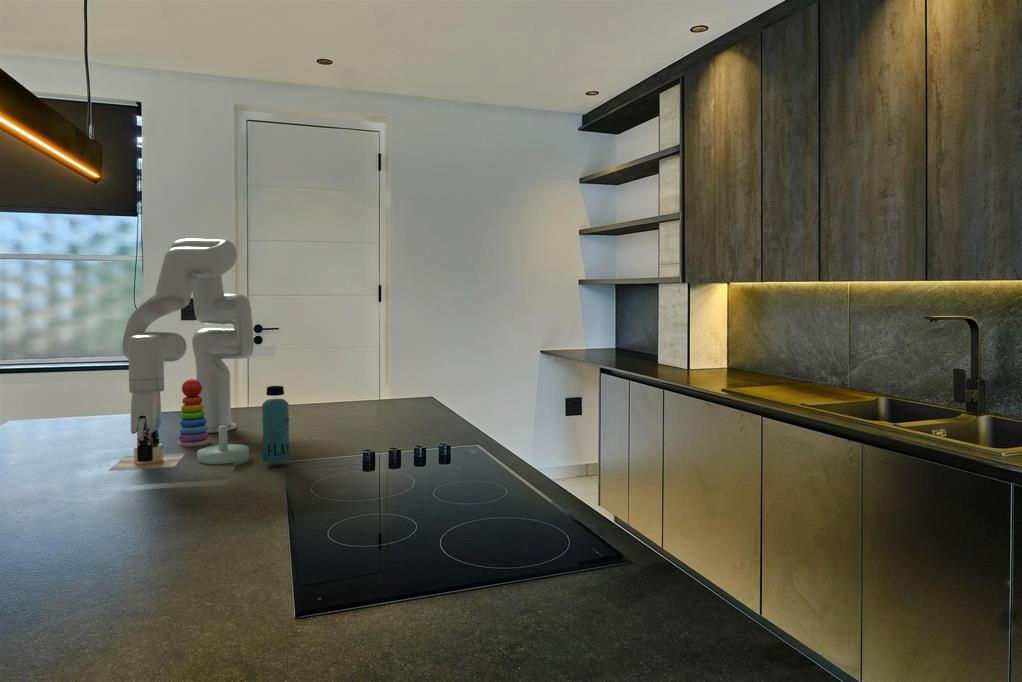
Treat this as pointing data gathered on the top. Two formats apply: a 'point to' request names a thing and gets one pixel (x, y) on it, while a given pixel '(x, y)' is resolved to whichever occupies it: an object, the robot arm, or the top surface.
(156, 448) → the brass ring
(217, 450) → the sage hub
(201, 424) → the stacking toy
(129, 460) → the oak stand
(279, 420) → the beverage bottle
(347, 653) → the top surface
